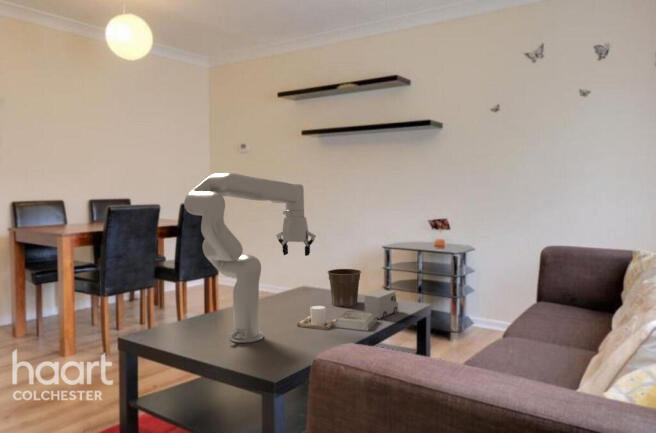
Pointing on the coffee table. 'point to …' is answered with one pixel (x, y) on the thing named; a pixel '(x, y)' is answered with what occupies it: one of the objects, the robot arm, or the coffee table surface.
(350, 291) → the plant pot
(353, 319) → the plate
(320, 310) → the white cup
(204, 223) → the robot arm
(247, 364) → the coffee table surface
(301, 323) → the cradle
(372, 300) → the toy vehicle
